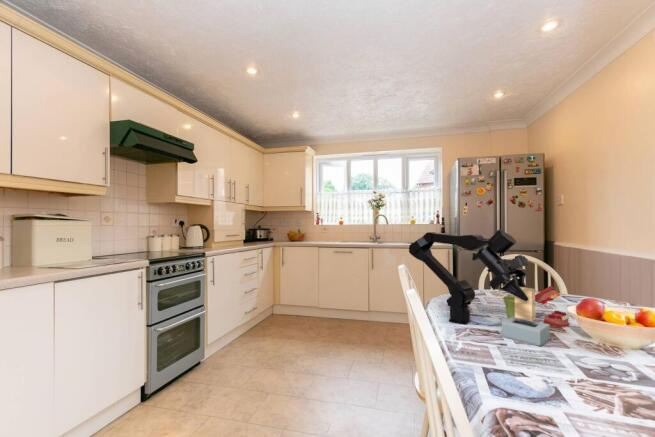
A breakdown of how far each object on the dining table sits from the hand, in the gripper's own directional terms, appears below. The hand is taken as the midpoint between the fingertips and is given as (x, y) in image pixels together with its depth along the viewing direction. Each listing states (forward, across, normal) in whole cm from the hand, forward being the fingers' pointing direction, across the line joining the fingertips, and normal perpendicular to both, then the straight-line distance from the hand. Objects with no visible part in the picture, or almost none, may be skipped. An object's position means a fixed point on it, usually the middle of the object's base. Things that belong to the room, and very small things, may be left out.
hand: (529, 299), depth 99 cm
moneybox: (+8, 0, +10) cm, 13 cm away
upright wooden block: (+4, 0, +6) cm, 7 cm away
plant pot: (+2, +17, +17) cm, 24 cm away
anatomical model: (+9, +26, +10) cm, 29 cm away
